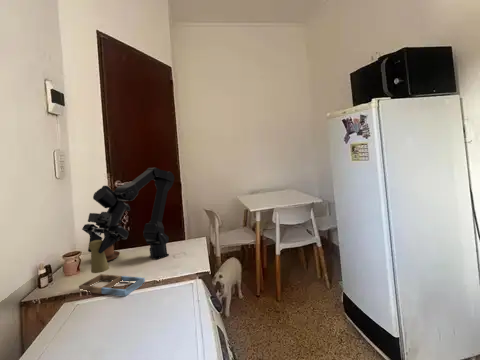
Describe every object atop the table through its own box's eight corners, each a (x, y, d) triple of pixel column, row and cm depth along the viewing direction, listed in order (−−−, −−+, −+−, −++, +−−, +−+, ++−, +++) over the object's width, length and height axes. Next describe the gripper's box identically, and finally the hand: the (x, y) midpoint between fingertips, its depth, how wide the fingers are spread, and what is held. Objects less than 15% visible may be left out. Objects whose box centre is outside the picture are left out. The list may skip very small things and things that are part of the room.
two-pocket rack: (79, 291, 121) (78, 285, 121) (101, 279, 131) (101, 274, 131) (125, 296, 114) (124, 290, 113) (145, 283, 123) (144, 277, 123)
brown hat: (93, 257, 159) (91, 245, 158) (120, 253, 163) (118, 240, 162) (91, 266, 148) (89, 252, 147) (120, 260, 151) (118, 247, 151)
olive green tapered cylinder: (102, 273, 120) (98, 243, 119) (87, 273, 121) (83, 243, 120) (112, 266, 126) (108, 237, 125) (97, 266, 127) (93, 238, 126)
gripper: (82, 203, 128) (60, 240, 120) (117, 203, 120) (96, 243, 111) (102, 218, 136) (83, 254, 128) (137, 219, 128) (118, 258, 119)
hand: (94, 252), depth 121 cm, fingers closed on olive green tapered cylinder, 5 cm apart
